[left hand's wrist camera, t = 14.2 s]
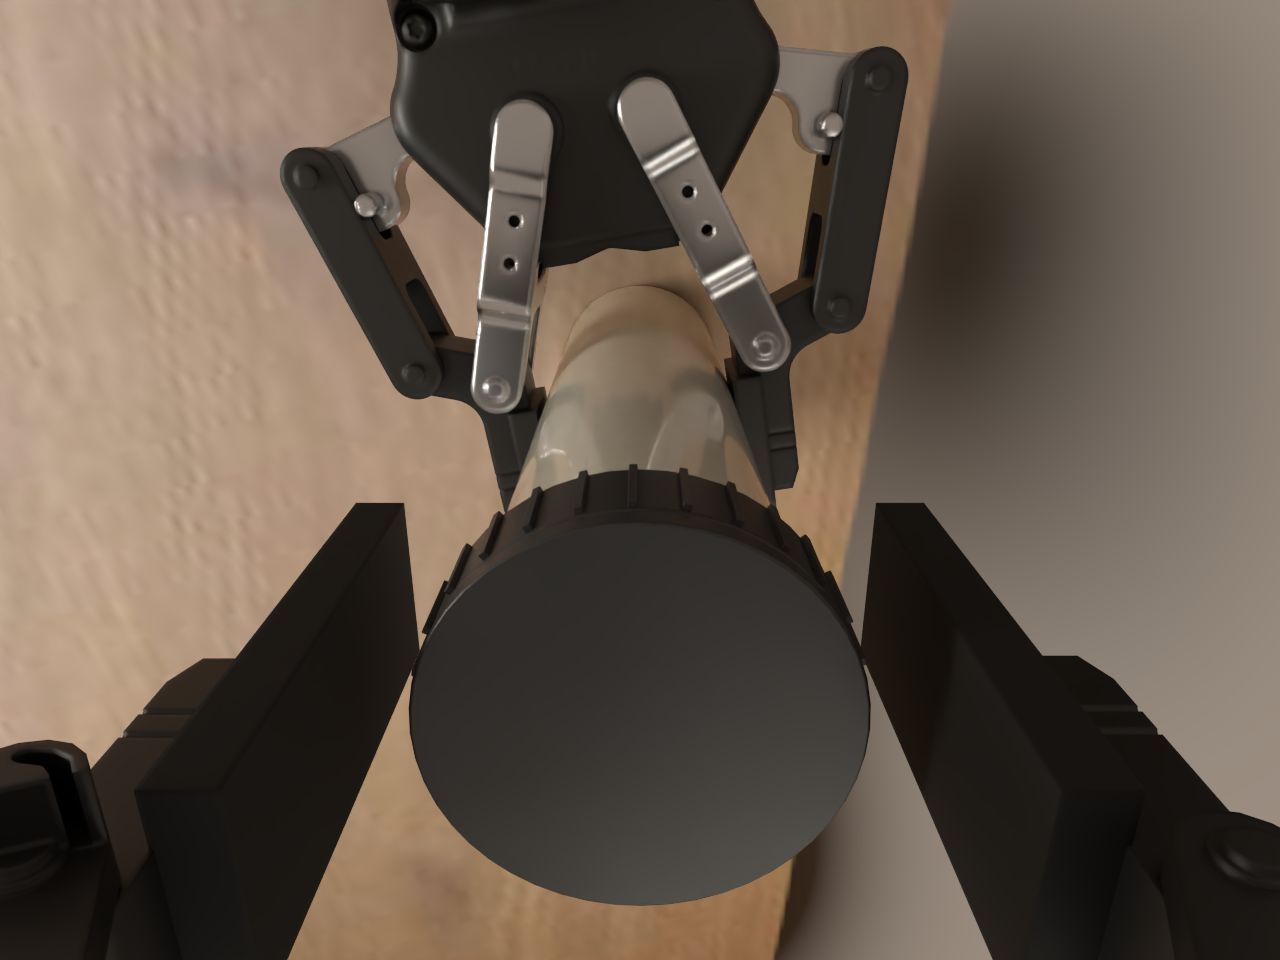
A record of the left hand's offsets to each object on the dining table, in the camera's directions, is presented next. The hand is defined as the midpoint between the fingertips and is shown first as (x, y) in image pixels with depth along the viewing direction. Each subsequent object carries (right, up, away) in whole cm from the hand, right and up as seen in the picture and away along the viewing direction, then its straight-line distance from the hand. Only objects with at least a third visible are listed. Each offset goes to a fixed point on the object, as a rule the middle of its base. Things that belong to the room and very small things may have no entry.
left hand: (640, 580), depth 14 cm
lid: (0, -1, -3) cm, 4 cm away
